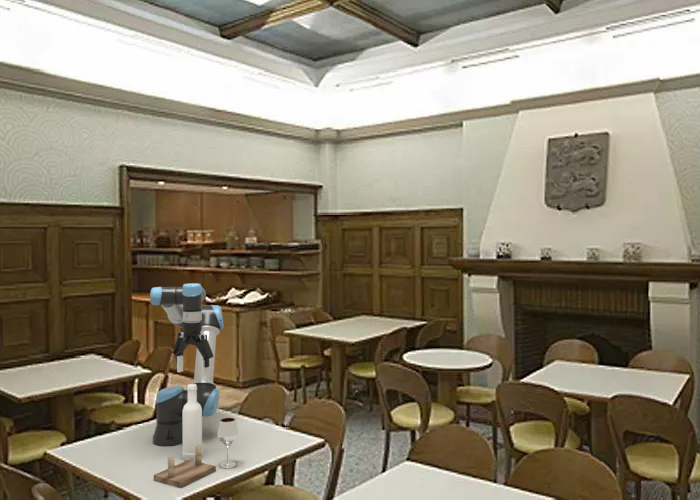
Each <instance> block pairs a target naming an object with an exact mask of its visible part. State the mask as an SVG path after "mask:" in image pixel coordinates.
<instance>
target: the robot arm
mask: <svg viewBox="0 0 700 500" xmlns="http://www.w3.org/2000/svg"><path fill="white" fill-rule="evenodd" d="M206 294H207V293H206V290H205V289H204V288H203V287H202V285H201V283H196V282H195V283H183V284H182V286H157V287H156V286H155V287H152V288H151V289H150V293H149V299H150V300H149V301H150V304H151V305H152V306H161V308H163V310H164V311H165V312H166V315H167V319H168V320H169V322H171V323H172V324H173V325H175V327H178V328H180V329H182V331H180V332H178V333H177V338H176V342H174V343H175V344H174V347H173V348H172V352H171V354H172V355H175V362H176V370H177V371H176V372H177V373H182V372H184V355H183V353H184V352H185V350H186V349H187V347H188V346H189V345H190V346H191V345H192V346H194V347H196V352H195V353H196V354H195V362H194V363H195V366H194V376H193V382H192V383H191V384H196V385H197V402H198V403H199V404H200V405H201V408H202V418H203V417H204V418H205V417H211V416H213V415H214V416H215V414H216V412H217V409H218V406H219V399H220V389H219V388H217V385H216V384H215V383H214V373H215V361H216V360H215V358H216V347H217V345H216V343H217V336H218V335H220V332H221V330H223V329H224V317H223V310H222V307H221V306H220V305H218V304H217V305H216V304H215V305H214V304H210V305H202V303H203V302H204V301H205V300H206V296H207V295H206ZM187 402H188V390H187V389H185V388H184V386H182V385H175V386H170V387H169V386H168V387H165V388H162V389H160V390H159V391H158V392H157V394H156V401H155V403H156V405H155V406H156V425H155V429H154V431H153V435H152V444H153V445H155V446H161V447H168V446H169V447H171V446H176V445H180V444H183V419H182V411H183V407H184V405H185V404H186V403H187Z"/></svg>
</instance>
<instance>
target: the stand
mask: <svg viewBox="0 0 700 500" xmlns="http://www.w3.org/2000/svg"><path fill="white" fill-rule="evenodd" d="M202 458H203V445H202V446H200V445H198V446H195V461H193V460H187V461H185V460H184V461H183V462H180V463H178V464H176V463H175V461H176V458H175V456H168V458H167V469H164V470H162V471H159V472H157V473H155V474H153V481H154V482H157V483H162V484H164V485H168V486H172V487H175V488H180V489H182V488H183V489H184V488H185V487H186V486H189V485H190V484H192V483H194V482H197V481H199V480H201V479H203V478H205V477H208V476H209V475H210V474H213V473H215V472H216V471H217V468H216V467H217V466H216V465H213V464H209V463H205V462H203V461H202V460H203V459H202Z"/></svg>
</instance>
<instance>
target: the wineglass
mask: <svg viewBox="0 0 700 500" xmlns="http://www.w3.org/2000/svg"><path fill="white" fill-rule="evenodd" d="M216 434H217V435H216V436H217V439H218V440H219V442H220V443H222V444H223V445H224V446H225V447H226V461H225V462H222V463H220V464H219V467H220V468H222V469H232V468H234V467H236V465H237V463H236V462H234V461H230V447H231V445H233V443H234V442H235V441H236V440H237V439H238V437H239V428H238V425H237V422H236V419H235V418H233V417H225V418H221V419H219V424H218V428H217V433H216Z"/></svg>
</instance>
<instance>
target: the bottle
mask: <svg viewBox="0 0 700 500" xmlns="http://www.w3.org/2000/svg"><path fill="white" fill-rule="evenodd" d="M186 390H188V402H187V403H186V404H185V405H184V407H183V411H182V419H183V443H182V451H181V452H182V453H181V454H182V459H183V461H184V462H185V461H187V460H193V461H195V446H198V445H200V446H202V447H203V416H202V408H201V405H200V404H199V403H198V402H197V385H196V384H192V383H191V384H190V383H189V384H187V388H186Z"/></svg>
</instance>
